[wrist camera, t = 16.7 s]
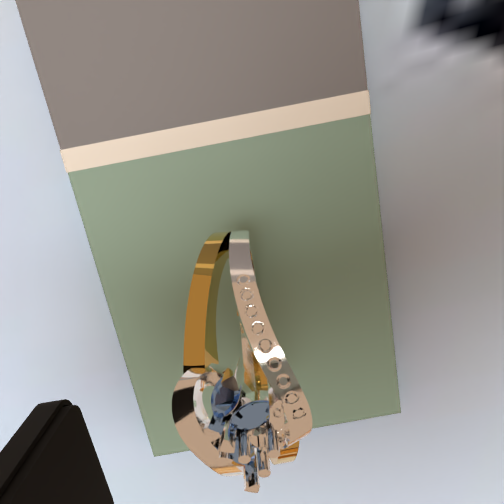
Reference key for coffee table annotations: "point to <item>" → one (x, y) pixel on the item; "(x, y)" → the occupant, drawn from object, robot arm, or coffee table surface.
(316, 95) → the board
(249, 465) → the ring
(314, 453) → the coffee table surface
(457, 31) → the coffee table surface
